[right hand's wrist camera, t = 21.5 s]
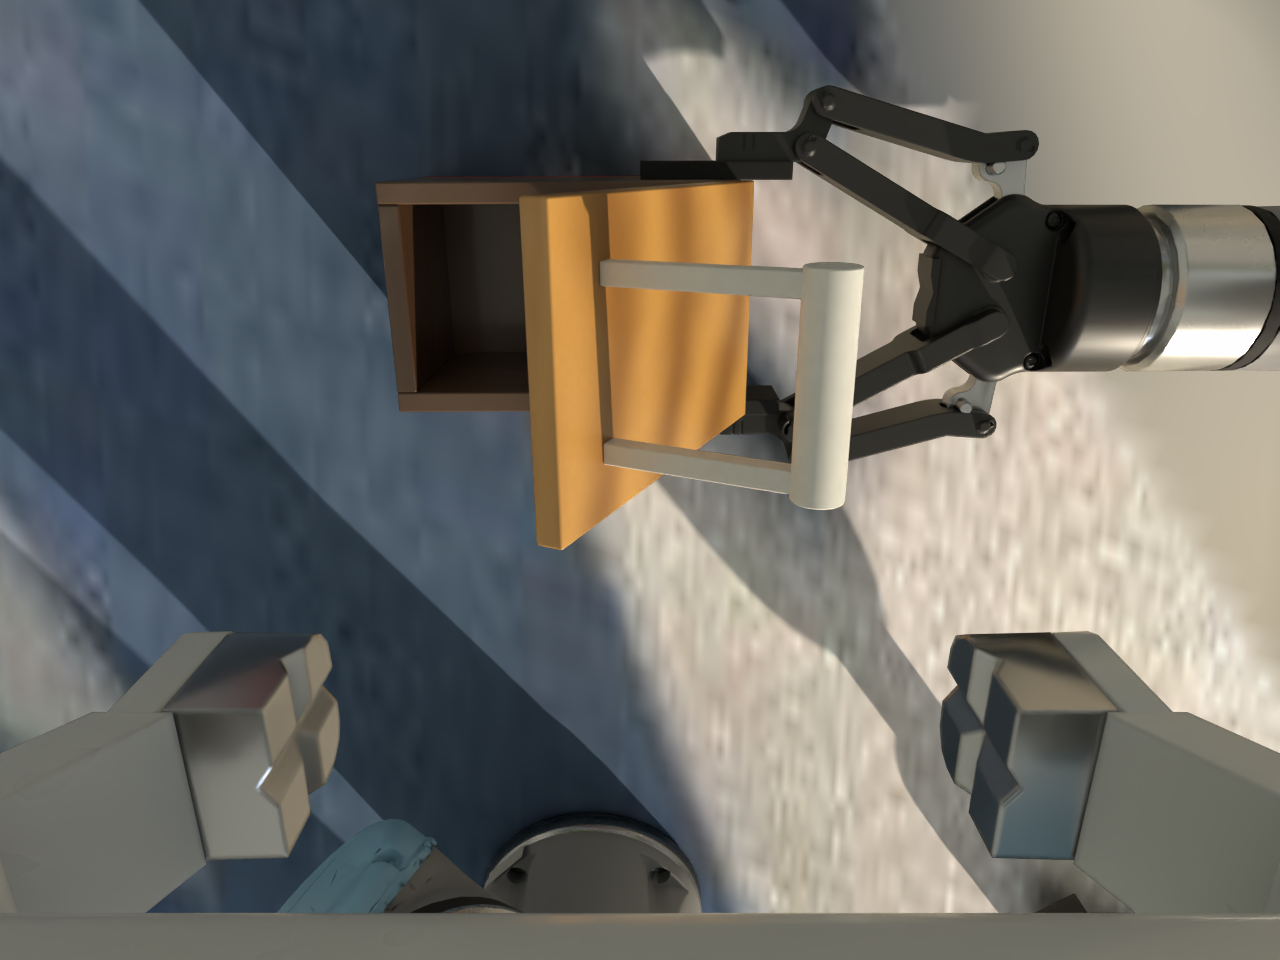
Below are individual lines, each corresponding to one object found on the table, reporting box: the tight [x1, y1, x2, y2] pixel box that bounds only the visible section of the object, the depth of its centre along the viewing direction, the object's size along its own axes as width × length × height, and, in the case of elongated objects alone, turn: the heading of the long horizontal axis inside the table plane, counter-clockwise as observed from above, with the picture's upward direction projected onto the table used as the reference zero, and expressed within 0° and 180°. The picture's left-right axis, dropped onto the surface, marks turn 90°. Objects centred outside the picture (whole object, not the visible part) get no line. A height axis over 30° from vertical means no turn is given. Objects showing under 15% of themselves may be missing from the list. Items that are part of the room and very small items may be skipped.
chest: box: [375, 176, 738, 412], centre depth 41 cm, size 15×10×9 cm, turn 90°
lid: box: [519, 180, 864, 550], centre depth 29 cm, size 16×10×8 cm
